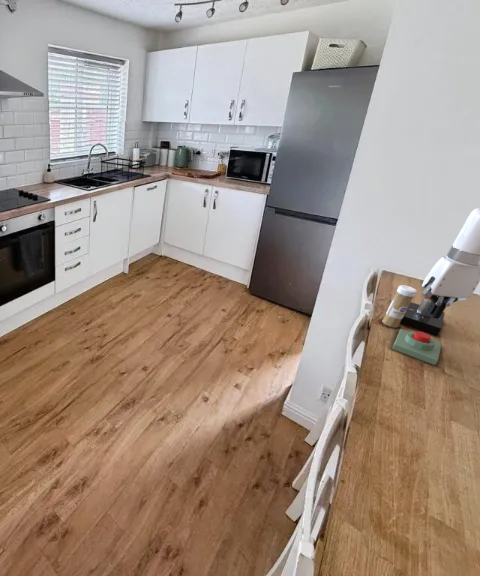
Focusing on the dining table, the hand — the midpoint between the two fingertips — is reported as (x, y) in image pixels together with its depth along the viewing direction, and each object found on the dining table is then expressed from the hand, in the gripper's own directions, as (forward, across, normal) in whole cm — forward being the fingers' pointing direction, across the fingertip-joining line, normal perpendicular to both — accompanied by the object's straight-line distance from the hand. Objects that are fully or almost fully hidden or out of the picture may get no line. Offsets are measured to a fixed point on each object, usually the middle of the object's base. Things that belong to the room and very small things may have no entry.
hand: (431, 315), depth 104 cm
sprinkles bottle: (+12, 0, -13) cm, 17 cm away
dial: (+8, -12, -16) cm, 22 cm away
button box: (+11, 0, 0) cm, 11 cm away
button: (+8, 0, 0) cm, 8 cm away
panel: (+11, -12, -16) cm, 23 cm away
